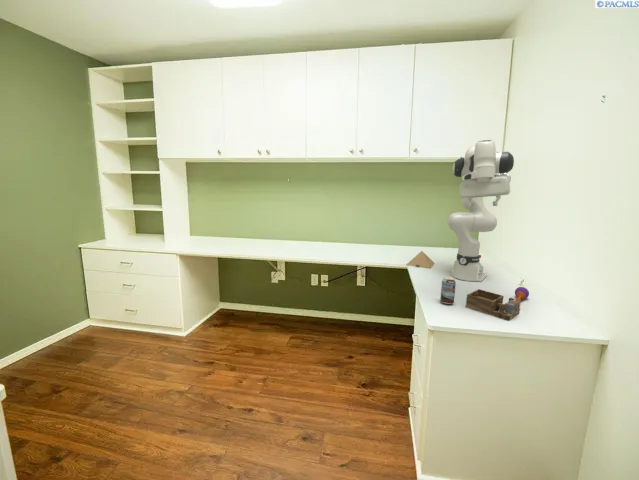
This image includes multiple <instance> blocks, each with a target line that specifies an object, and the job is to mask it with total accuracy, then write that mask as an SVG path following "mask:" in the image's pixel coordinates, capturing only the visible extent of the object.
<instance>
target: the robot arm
mask: <svg viewBox="0 0 639 480" xmlns="http://www.w3.org/2000/svg"><path fill="white" fill-rule="evenodd" d="M514 164H515V160H514V156H513V154H512V153H511V152H510V151H503V152H500V151H499V152H498V151H497V150H496V143H495V140H491V139H485V140H479V141H477V142H476V143H475V145H473V146H470V147H469V148H468V149H467V150H466V152H465V155H464V157H463V156H460V158H458V159H456V160H455V161H454V163H453V165H452V173H453V175H454V177H456V178H461V180H462V182H461V183H460V185H459V190H458V191H459V192H458V193H459V197H460V198H461V203H460V204H461V206H462V207H463V208H464V209H465V210H468V211H469V212H468V211H465V212H464V211H459V212H458V211H457V212H453V213H450V215H449V216H448V219H447V224H448V227H449V228H450V229H451V230H452V231H453V232H454V233H455V235H456V237H457V239H458V249H457V254H456V260H455V261H454V262H453V266H452V271H450V273H449V274H450V275H451V276H452V277H453V278H454V279H458V280H461V281H466V282H467V281H468V282H484V280H485V279H486V277H487V274H486V273H484V266H483V265H482V263H481V262H480V260H481V258H482V255H481V254H480V247H481V246H480V245H481V244H480V241H479V240H478V239H477V238H475V237H474V236H472V235H471V234H470V232H475V233H477V232H478V233H485V232H486V233H488V232H493V231H494V230H495V229H496V227H497V225H498V220H497V218H496V216H495V215H494V214H493V213H491V212H490V211H488V209H487V208H486V207H485V205H484V201H483V197H485V198H486V197H495V199H494V201H492V206H493V207H498V202H499V201H500V199H501V197H502V196H509V194H510V193H511V186H510V182H511V178H512V177H511V175H510V174H508V173H509V172H511V171H512V170H513V167H514Z"/></svg>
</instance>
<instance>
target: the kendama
mask: <svg viewBox="0 0 639 480" xmlns="http://www.w3.org/2000/svg"><path fill="white" fill-rule="evenodd" d="M529 295H530V291H529V290H528V288H526V287H524V286H518V287H517V288H516V289H515V290H514V296H515V297H516V299H514V301H516V302H519V303H518V309H520V306H521V300H525V299H527V298H528V297H529Z"/></svg>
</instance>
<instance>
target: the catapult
mask: <svg viewBox="0 0 639 480" xmlns="http://www.w3.org/2000/svg"><path fill="white" fill-rule="evenodd" d="M518 303H519V302H516V301H515V298H513V297H509V298H508V301H507V302H506V303H504V295H502V294H499V293H494V292H491V291H487V290H483V289H475V290H474V291H472V292H470V293H468V294H467V295H466V301H465V308H467V309H471V310H474V311H477V312H479V311H480V312H479V313H481V314H482V313H483V314H485V315H489V316H492V317H495V318H498V319H502V320H504V321H508V322H509V321H511V320H512V319H514V318H515V317H516V316H517V315H519V314H520V311H521V309H520V308H518ZM495 309H498V310H495Z"/></svg>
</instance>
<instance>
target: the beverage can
mask: <svg viewBox="0 0 639 480" xmlns="http://www.w3.org/2000/svg"><path fill="white" fill-rule="evenodd" d="M456 288H457V282H456V278H452V277H451V278H450V277H443V278H442V281H441V289H440V301H441V303H442V304H447V305H451V304H454V303H455V298H456V297H455V295H456V294H455V293H456Z"/></svg>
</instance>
